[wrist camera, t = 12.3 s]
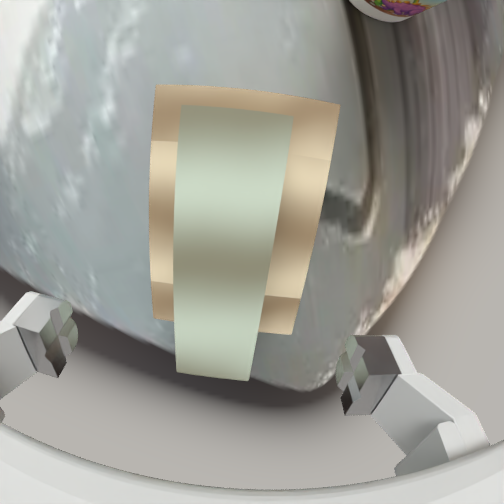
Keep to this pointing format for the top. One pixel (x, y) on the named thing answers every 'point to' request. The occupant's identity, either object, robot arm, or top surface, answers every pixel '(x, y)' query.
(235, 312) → the rail end
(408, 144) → the top surface
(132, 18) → the top surface
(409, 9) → the milk bottle
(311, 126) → the wooden square frame
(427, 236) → the top surface
